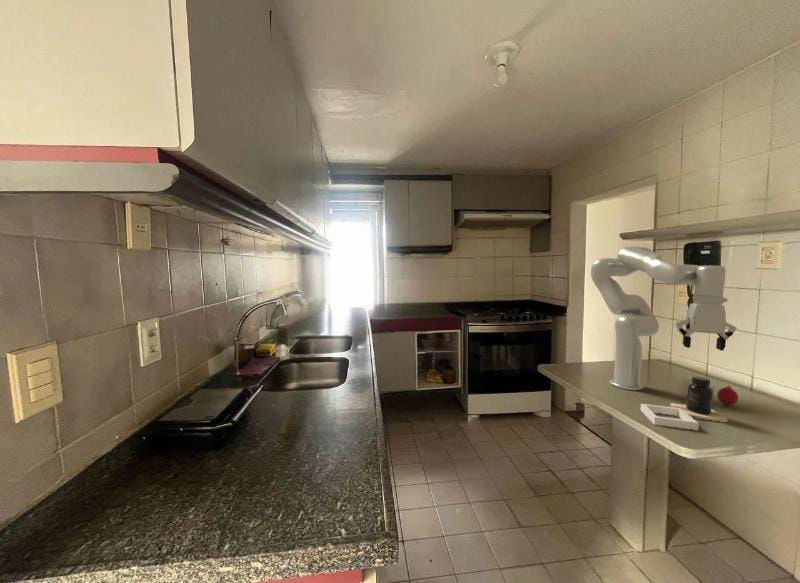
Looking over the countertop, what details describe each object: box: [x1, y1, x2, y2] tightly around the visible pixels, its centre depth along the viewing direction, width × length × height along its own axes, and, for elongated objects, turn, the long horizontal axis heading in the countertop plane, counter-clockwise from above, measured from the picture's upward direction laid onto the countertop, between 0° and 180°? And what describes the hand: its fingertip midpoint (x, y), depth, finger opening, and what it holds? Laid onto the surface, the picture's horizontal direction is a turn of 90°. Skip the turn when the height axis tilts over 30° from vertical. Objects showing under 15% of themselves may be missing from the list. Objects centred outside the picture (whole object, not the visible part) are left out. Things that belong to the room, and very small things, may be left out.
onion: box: [716, 385, 739, 407], centre depth 129 cm, size 6×6×8 cm
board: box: [670, 402, 729, 423], centre depth 122 cm, size 11×12×1 cm
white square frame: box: [640, 403, 700, 431], centre depth 116 cm, size 12×12×2 cm
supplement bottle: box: [685, 376, 714, 414], centre depth 121 cm, size 7×7×12 cm
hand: (703, 348), depth 120 cm, fingers open, 9 cm apart
